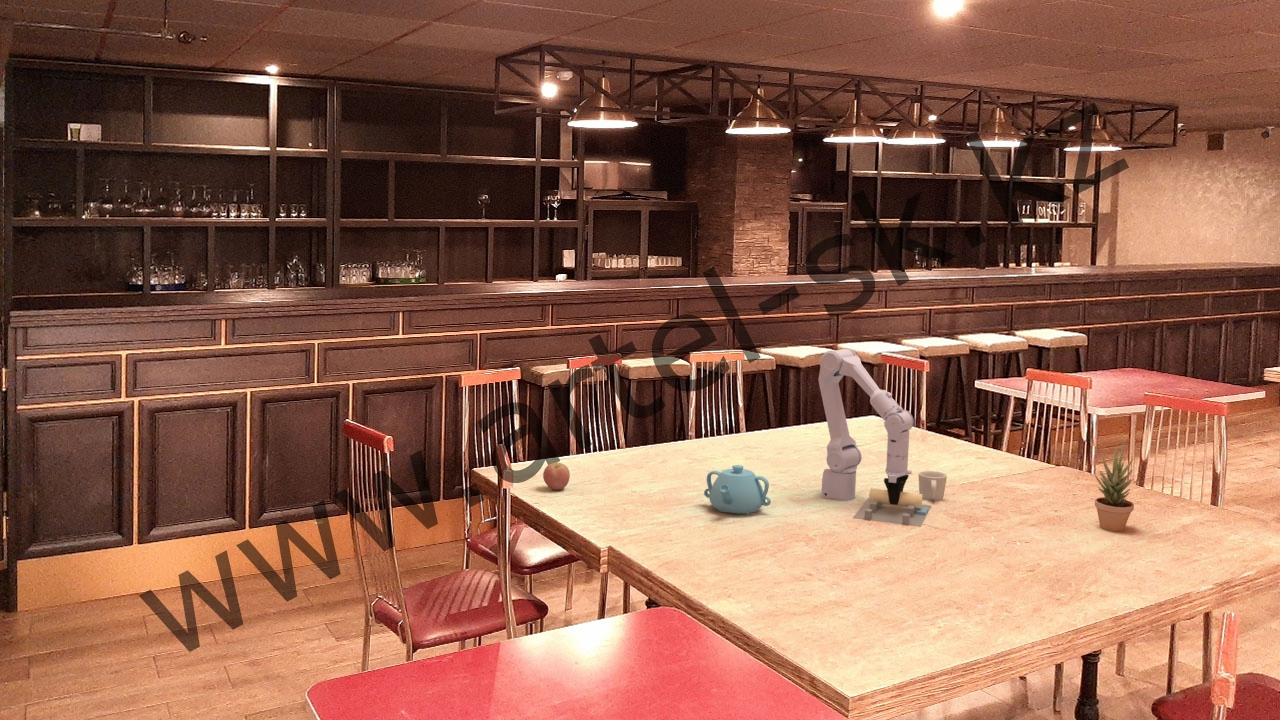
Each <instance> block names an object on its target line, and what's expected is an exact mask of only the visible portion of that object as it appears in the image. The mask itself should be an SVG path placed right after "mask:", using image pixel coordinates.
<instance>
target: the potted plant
mask: <svg viewBox="0 0 1280 720" xmlns="http://www.w3.org/2000/svg"><path fill="white" fill-rule="evenodd" d="M1122 439H1123V440H1122V444H1121V449H1120V454H1119V457H1118V447H1117V446H1115V449H1114V452H1113V459H1112V471H1111V470H1110V468H1109V466H1108V464H1107V463H1106V461H1105V458H1104V457H1102V464H1103V467H1104V470H1105V472H1106V475H1104V474H1103V472H1102V471H1101V470H1099V473H1100V476H1101V477H1100V479H1099V478H1098V476H1097V475H1096V474H1094V476H1095V479H1096V480H1097V482H1098V484H1099V485H1100V487H1099V486H1098V487H1097V488H1098V490H1099V491H1100V492H1101V493H1102V494H1103V495H1104V496H1101V497H1095V498H1094V499H1095V500H1094V506H1095V507H1096V511H1097V517H1098V523H1099V528H1100V529H1101V528H1102V529H1103V530H1107V531H1112V532H1123V531H1125V529H1126V526H1127V524H1128V520H1129V518H1130V516H1131V513H1132V512H1133V511H1134V510H1135V509H1134V508H1135V504H1134V502H1132V501H1131V500H1128V499H1127V498H1126V497H1128V496H1129V494H1130V492H1129V491H1131V488H1129V489H1127V488H1128V486H1130V485H1131V483H1132V481H1133V478H1131V479H1129V477H1130V476H1131V474H1132V472H1133V469H1131V470H1130V471H1129V472H1128V473H1127V471H1128V470H1129V468H1130V466H1131V465H1132V463H1133V460H1134V458H1132V459H1131V460H1130V461H1129V462H1128V463H1127V465H1126V466H1125V467H1124V463H1125V462H1124V461H1123V457H1124V456H1123V455H1124V450H1125V438H1122ZM1126 473H1127V474H1126ZM1125 474H1126V475H1125ZM1106 476H1107V477H1106ZM1128 479H1129V480H1128ZM1101 487H1102V488H1101ZM1125 489H1127V490H1125Z"/></svg>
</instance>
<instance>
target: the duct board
mask: <svg viewBox="0 0 1280 720" xmlns="http://www.w3.org/2000/svg"><path fill="white" fill-rule="evenodd" d="M931 508H932V505H928V504H922V506H921V508H915V506H914V505H909V506H908V507H904V506H895V505H886V504H878V501H872V502H871V503H870V502H869V497H868V498H867V499H866V500H865V502H863V504H862V505H861V506H860V507H859V509H858V510H857V512H856V513H854V515H853V516H852V519H857V520H865V521H871V522H881V523H888V524H895V525H903V526H904V525H905V526H913V527H918V528H920V527H922V525H923V523H924V522H925V520H926V517H927V515H928V513H929V512H930V510H931Z"/></svg>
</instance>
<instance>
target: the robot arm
mask: <svg viewBox="0 0 1280 720" xmlns="http://www.w3.org/2000/svg"><path fill="white" fill-rule="evenodd" d="M819 367H820V368H819V374H818V384H819V391H820V394H821V399H822V404H823V409H824V414H825V419H826V422H827V427H828V428H827V429H828V433H829V436H830V437H829V438H830V440H829V441H828V442H829V443H828V444H827V446H826V452H827V455H826V464H827V467H829V468H824V470H823V473H822V479H821V498H822V499H823V498H824V499H830V500H836V501H844V502H845V501H847V502H848V501H854V500H855V499H856V484H857V483H856V482H857V481H856V480H857V469H858V466H859V465H860V464H861V461H862V458H863V457H862V453H861V450H860V449H859V448H858V445H857V442H856V440H855V439H854V438H852V436H850V432H849V426H848V423H847V422H848V421H847V417H846V413H845V408H844V402H843V398H842V394H841V393H842V392H841V389H840V385H839V383H840V381H841V380H842V378H843V377H844V376H846V377H851V378H852V379H853V380H854V381H855V382H856V383H857V384H858V385H859V386H860V387H861V389H862V390H863V391H864V392H865V393H866V394H867V395H868V396H869V398H870V399H869V403H870V405H871V406H872V408H873V409H874V410H875V412H877V413H878V415H879V416H880V417H881V418H882V419H883V421H884V422H883V424H884V425H883V426H884V428H885V430H886V432H887V443H886V444H887V447H886V449H887V450H886V467H885V470H884V471H885V473H886V475H887V477H884V479H883V483H884V485H885V487H886V490H887V491H888V496H889V502H890V504H894V505H897V504H898V502H899V498H900V493H901V492H904V488H905V485H906V482H907V480H908V479H909V475H912V473H913V472H912V470H909V469H908V466H909V465H908V464H909V447H910V444H909V443H910V431H911V429H912V428H913V427H914V424H915V423H914V417H913V415H912V413H911V412H910V411H909V410H905V409H903V407H902V406H900V405H899V403H898V402H896V401H895V399H893V397H892V396H893V394H892V393H891V392H889V391H887V390H886V389H881V388H879V386H878V384H877V383H876V382H875V381H874V379H873V378H872V376H871V375H870V373H869V372H868V371H867V370H866V368H865V367H864V365H863V364H862V362H861V358H860V357H859V356H858V355H857V354H856V352H855V351H854V350H853V349H851V348H848V347H846V348H842V349H837V350H836V349H835V350H827V351H825V352H824V353H823V355H821V357H820V359H819Z"/></svg>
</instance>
